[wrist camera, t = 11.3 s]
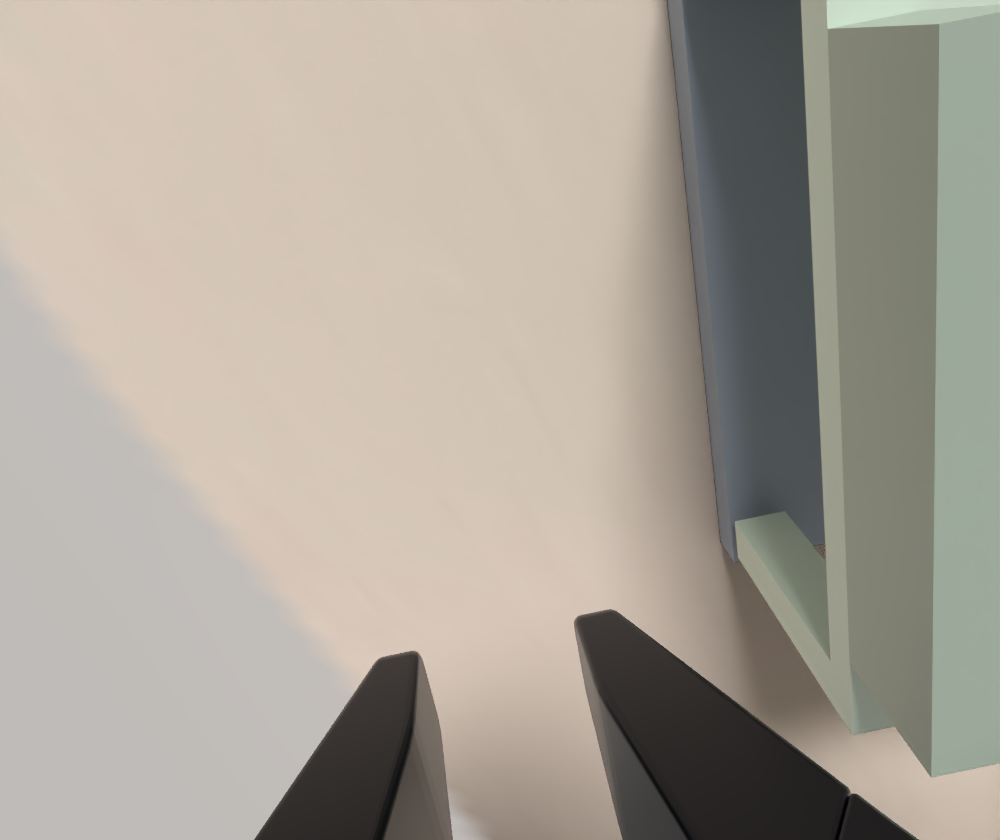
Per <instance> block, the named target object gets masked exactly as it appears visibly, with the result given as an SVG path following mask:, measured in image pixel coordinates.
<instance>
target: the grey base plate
mask: <svg viewBox="0 0 1000 840" xmlns="http://www.w3.org/2000/svg"><path fill="white" fill-rule="evenodd" d="M667 1H668V11H669V22H670V32H671V42H672V52H673V62H674V72H675V83H676V93H677V103H678V113H679V123H680V133H681V143H682V154H683V164H684V174H685V184H686V194H687V204H688V215H689V225H690V235H691V245H692V255H693V265H694V275H695V286H696V296H697V306H698V316H699V326H700V336H701V347H702V357H703V367H704V377H705V387H706V397H707V407H708V418H709V428H710V438H711V448H712V458H713V468H714V479H715V489H716V499H717V509H718V519H719V529H720V539H721V543H722V545H723V546H724V548H725V550H726V551H727V553H728V554H729V556H730V558H731V559H732V561H733V562H734V563H736V562H740V560H739V558H738V552H737V541H736V529H735V521H739V520H744V519H749V518H754V517H759V516H763V515H768V514H773V513H778V512H783V511H785V512H786V513H787V514H788V515H789V517H790V518H791V519H792V520H793V522H794V523H795V524H796V525H797V527H798V528H799V529H800V530H801V531H802V533H803V534H804V535H805V536H806V538H807V539H808V540H809V541H810V543H811V544H812V545H813V546H817V545H822V544H825V528H824V506H823V484H822V461H821V439H820V417H819V395H818V373H817V350H816V328H815V306H814V284H813V261H812V239H811V217H810V195H809V173H808V150H807V128H806V106H805V84H804V62H803V39H802V17H801V0H667Z"/></svg>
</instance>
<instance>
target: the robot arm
mask: <svg viewBox="0 0 1000 840" xmlns="http://www.w3.org/2000/svg"><path fill="white" fill-rule="evenodd" d="M574 628H575V634H576V640H577V645H578V651H579V656H580V661H581V667H582V672H583V678H584V683H585V688H586V693H587V698H588V702H589V706H590V710H591V715H592V719H593V723H594V727H595V731H596V735H597V739H598V743H599V747H600V751H601V755H602V759H603V763H604V767H605V771H606V775H607V780H608V784H609V788H610V792H611V796H612V800H613V804H614V808H615V812H616V816H617V820H618V824H619V827H620V831H621V835H622V838H623V840H918V839H917V838H916V837H914V836H913V835H911V834H910V833H909V832H907V831H906V830H905V829H903V828H902V827H900V826H899V825H898V824H896V823H895V822H893V821H892V820H891V819H889V818H888V817H887V816H885V815H884V814H883V813H881V812H880V811H879V810H877V809H876V808H875V807H873V806H872V805H871V804H870V803H868V802H867V801H866V800H864V799H863V798H862V797H860V796H859V795H858V794H851V792H850V790H849V788H848V787H847V786H845V785H844V784H843V783H841V782H840V781H839V780H838V779H836V778H835V777H834V776H832V775H831V774H830V773H828V772H827V771H826V770H824V769H823V768H822V767H820V766H819V765H818V764H817V763H815V762H814V761H813V760H811V759H810V758H809V757H807V756H806V755H805V754H803V753H802V752H801V751H799V750H798V749H797V748H795V747H794V746H793V745H792V744H790V743H789V742H788V741H786V740H785V739H784V738H782V737H781V736H780V735H778V734H777V733H776V732H774V731H773V730H772V729H771V728H769V727H768V726H767V725H765V724H764V723H763V722H761V721H760V720H759V719H757V718H756V717H755V716H753V715H752V714H751V713H750V712H748V711H747V710H746V709H744V708H743V707H742V706H740V705H739V704H738V703H736V702H735V701H734V700H732V699H731V698H730V697H729V696H727V695H726V694H725V693H723V692H722V691H721V690H719V689H718V688H717V687H715V686H714V685H713V684H711V683H710V682H709V681H708V680H706V679H705V678H704V677H702V676H701V675H700V674H698V673H697V672H696V671H694V670H693V669H692V668H690V667H689V666H688V665H686V664H685V663H684V662H683V661H681V660H680V659H679V658H677V657H676V656H675V655H673V654H672V653H671V652H669V651H668V650H667V649H665V648H664V647H663V646H662V645H660V644H659V643H658V642H656V641H655V640H654V639H652V638H651V637H650V636H648V635H647V634H646V633H644V632H643V631H642V630H641V629H639V628H638V627H637V626H635V625H634V624H633V623H631V622H630V621H629V620H627V619H626V618H625V617H623V616H622V615H621V614H620V613H618V612H617V611H615V610H611V609H609V610H604V611H599V612H594V613H590V614H585V615H580V616H578V617H577V618H576V619H575V621H574ZM254 840H453V838H452V829H451V819H450V810H449V801H448V792H447V783H446V774H445V764H444V755H443V746H442V737H441V730H440V725H439V720H438V715H437V711H436V708H435V704H434V700H433V696H432V693H431V689H430V685H429V682H428V678H427V674H426V670H425V667H424V663H423V660H422V657H421V656H420V654H419V653H418V652H416V651H409V652H404V653H400V654H395V655H390V656H385V657H382V658H380V659H378V660H377V661H376V662H375V663H374V665H373V666H372V668H371V669H370V671H369V672H368V674H367V675H366V677H365V678H364V680H363V681H362V682H361V684H360V685H359V687H358V688H357V690H356V691H355V693H354V694H353V696H352V697H351V699H350V700H349V702H348V703H347V704H346V706H345V707H344V709H343V711H342V712H341V713H340V715H339V716H338V718H337V719H336V721H335V722H334V724H333V725H332V726H331V728H330V730H329V731H328V732H327V734H326V735H325V737H324V738H323V740H322V741H321V743H320V744H319V746H318V747H317V749H316V750H315V751H314V753H313V754H312V756H311V757H310V759H309V760H308V762H307V763H306V765H305V766H304V767H303V769H302V770H301V772H300V773H299V775H298V776H297V778H296V779H295V781H294V782H293V784H292V785H291V787H290V788H289V789H288V791H287V792H286V794H285V795H284V797H283V798H282V800H281V801H280V803H279V804H278V806H277V807H276V808H275V810H274V811H273V813H272V814H271V816H270V817H269V819H268V820H267V822H266V823H265V825H264V826H263V828H262V829H261V830H260V832H259V833H258V835H257V836H256V838H255V839H254Z"/></svg>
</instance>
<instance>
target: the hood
mask: <svg viewBox="0 0 1000 840" xmlns="http://www.w3.org/2000/svg"><path fill="white" fill-rule="evenodd" d="M801 17H802V39H803V62H804V84H805V106H806V128H807V150H808V173H809V195H810V217H811V239H812V261H813V284H814V306H815V328H816V350H817V373H818V395H819V417H820V439H821V461H822V484H823V506H824V528H825V550H826V561H825V560H824V559H823V558H822V556H821V555H820V554H819V553H818V551H817V550H816V549H815V548H814V546H813V545H812V544H811V543H810V541H809V540H808V539H807V538H806V536H805V535H804V534H803V533H802V531H801V530H800V529H799V528H798V527H797V525H796V524H795V523H794V522H793V520H792V519H791V518H790V517H789V515H788V514H787V513H786V512H785V511H783V512H778V513H773V514H768V515H763V516H759V517H754V518H749V519H744V520H739V521H735V529H736V541H737V552H738V558H739V560H740V561H741V563H742V565H743V566H744V568H745V569H746V571H747V572H748V574H749V575H750V577H751V579H752V580H753V582H754V583H755V585H756V586H757V588H758V589H759V591H760V593H761V594H762V596H763V597H764V599H765V600H766V602H767V604H768V605H769V607H770V608H771V610H772V611H773V613H774V614H775V616H776V618H777V619H778V621H779V622H780V624H781V625H782V627H783V628H784V630H785V632H786V633H787V635H788V636H789V638H790V639H791V641H792V642H793V644H794V646H795V647H796V649H797V650H798V652H799V653H800V655H801V657H802V658H803V660H804V661H805V663H806V664H807V666H808V667H809V669H810V671H811V672H812V674H813V675H814V677H815V678H816V680H817V681H818V683H819V685H820V686H821V688H822V689H823V691H824V692H825V694H826V696H827V697H828V699H829V700H830V702H831V703H832V705H833V706H834V708H835V710H836V711H837V713H838V714H839V716H840V717H841V719H842V720H843V722H844V724H845V725H846V727H847V728H848V730H849V731H850V733H851V734H852V735H856V734H861V733H865V732H870V731H875V730H880V729H884V728H889V727H894V726H895V727H896V729H897V730H898V732H899V733H900V734H901V736H902V737H903V739H904V740H905V741H906V743H907V744H908V746H909V747H910V748H911V750H912V751H913V753H914V754H915V755H916V757H917V758H918V760H919V761H920V763H921V764H922V765H923V767H924V768H925V770H926V771H927V772H928V774H929V775H930V777H931V778H932V777H937V776H942V775H946V774H951V773H956V772H960V771H965V770H970V769H975V768H979V767H984V766H989V765H993V764H998V763H1000V0H801Z"/></svg>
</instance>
